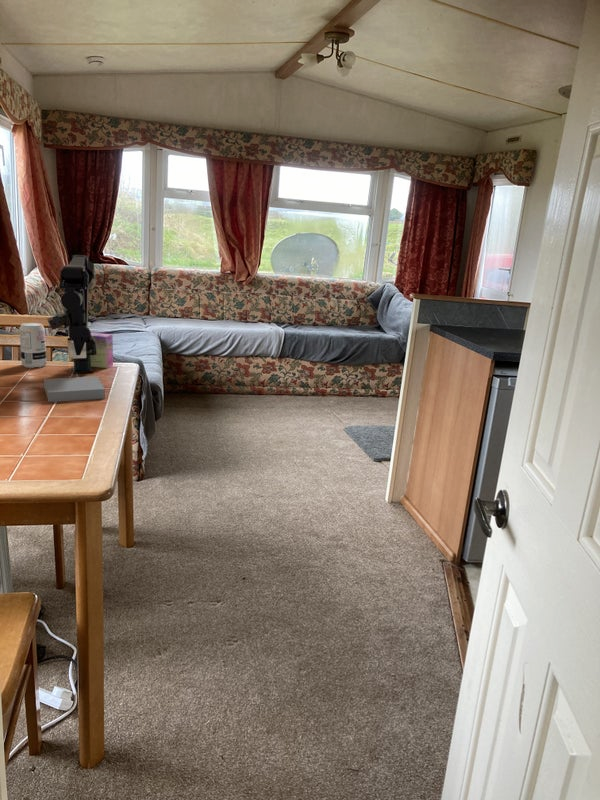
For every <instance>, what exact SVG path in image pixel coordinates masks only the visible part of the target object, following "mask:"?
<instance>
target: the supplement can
mask: <svg viewBox="0 0 600 800" xmlns="http://www.w3.org/2000/svg"><path fill="white" fill-rule="evenodd" d="M18 330H19V343H20V360H21V366H23V367H24V368H28V369H35V368H34V367H39V368H42V366H43V367H45V366H46V365H47V363H48V362H47V344H46V330H45V327H44V325H43V323H40V322H24V323H21V324H20V326H19V328H18Z"/></svg>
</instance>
